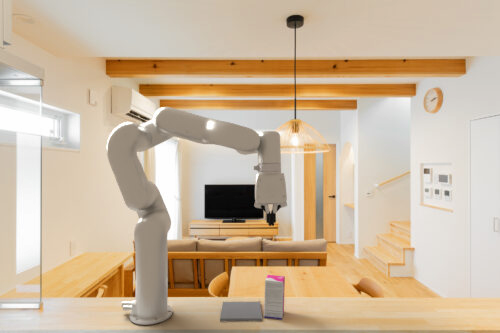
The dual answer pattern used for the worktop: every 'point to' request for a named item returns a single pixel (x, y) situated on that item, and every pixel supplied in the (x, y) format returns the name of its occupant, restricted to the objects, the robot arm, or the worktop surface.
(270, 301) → the supplement box
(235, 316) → the felt pad
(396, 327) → the worktop surface
